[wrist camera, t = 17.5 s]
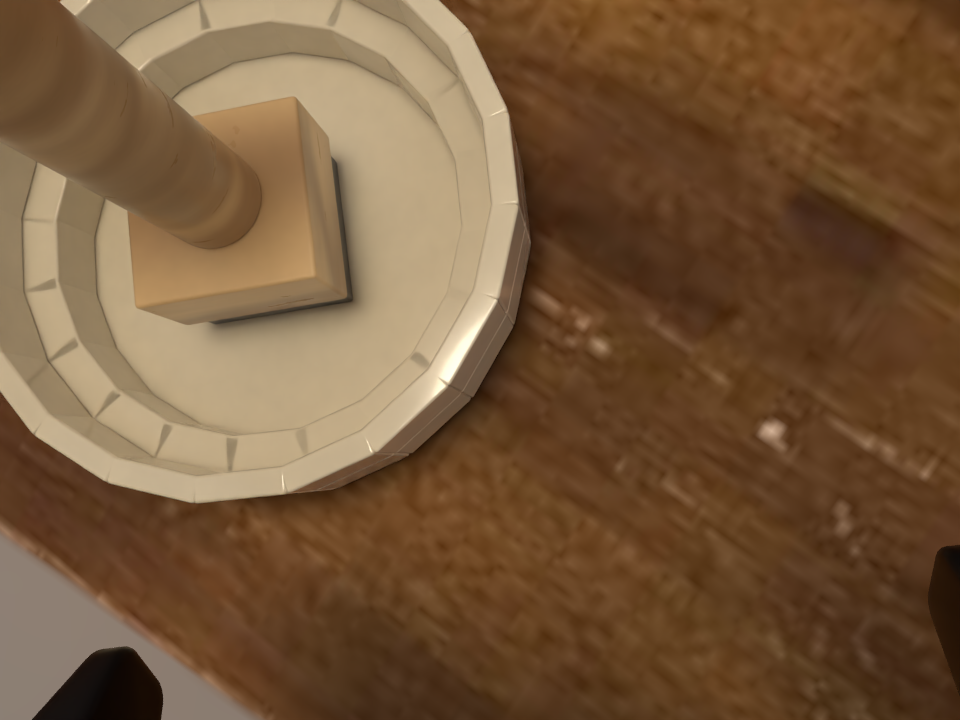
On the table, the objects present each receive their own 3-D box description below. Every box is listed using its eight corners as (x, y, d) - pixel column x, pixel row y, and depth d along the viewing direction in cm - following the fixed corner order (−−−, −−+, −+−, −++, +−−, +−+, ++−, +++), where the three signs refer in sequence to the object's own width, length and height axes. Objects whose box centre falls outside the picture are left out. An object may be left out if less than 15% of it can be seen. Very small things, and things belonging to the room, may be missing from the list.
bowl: (367, 591, 21) (314, 620, 17) (-26, 341, 24) (-150, 316, 20) (623, 142, 22) (628, 72, 18) (213, -58, 24) (139, -160, 20)
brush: (362, 308, 22) (-20, 54, 8) (207, 333, 22) (-391, 133, 9) (343, 153, 22) (-43, -322, 9) (193, 181, 23) (-390, -227, 9)
